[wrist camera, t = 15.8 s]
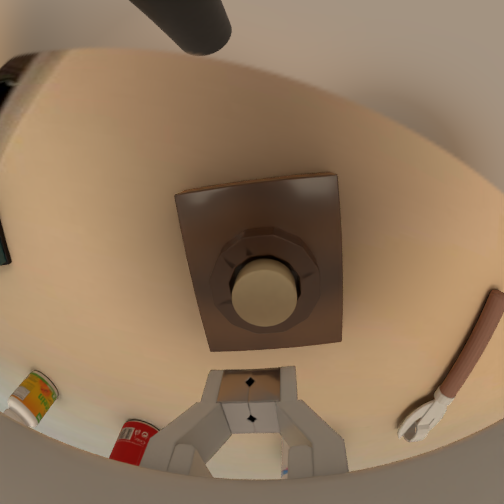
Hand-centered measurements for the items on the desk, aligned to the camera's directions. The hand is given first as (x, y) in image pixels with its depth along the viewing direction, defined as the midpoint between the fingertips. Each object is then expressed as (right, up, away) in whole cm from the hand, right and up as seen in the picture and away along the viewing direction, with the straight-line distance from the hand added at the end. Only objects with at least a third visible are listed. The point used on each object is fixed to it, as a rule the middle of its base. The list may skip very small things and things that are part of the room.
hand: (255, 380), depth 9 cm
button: (+1, +3, +8) cm, 8 cm away
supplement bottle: (-30, -15, +20) cm, 40 cm away
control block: (+1, +4, +11) cm, 12 cm away
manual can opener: (+21, -8, +14) cm, 26 cm away
